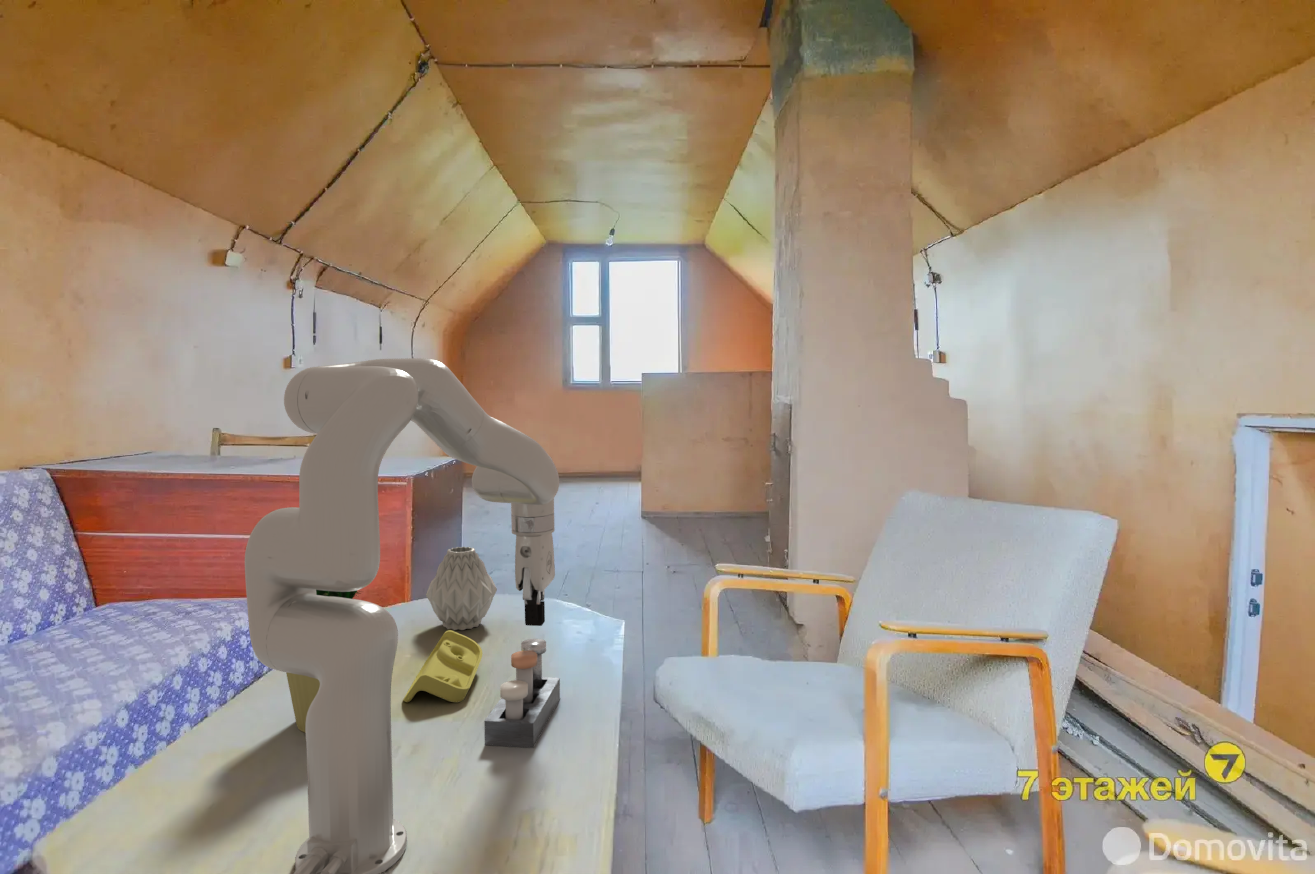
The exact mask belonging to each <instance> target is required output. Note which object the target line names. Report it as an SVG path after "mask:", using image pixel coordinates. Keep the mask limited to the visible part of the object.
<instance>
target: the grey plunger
mask: <svg viewBox="0 0 1315 874" xmlns="http://www.w3.org/2000/svg"><path fill="white" fill-rule="evenodd" d="M520 645H521V646H520V647H521V649H520V651H534V652H536V653H537V665H536V666H534V667H533V688H535V689H542V677H543V668H542V667H543V665H542V663H543V660H542V658H543V657H542V655H543V654H545V653H546V652H547V641H546V640H544V639H541V638H529V639H525V640H523V641H521V643H520Z"/></svg>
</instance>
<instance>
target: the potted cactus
mask: <svg viewBox="0 0 1315 874" xmlns="http://www.w3.org/2000/svg"><path fill="white" fill-rule="evenodd" d="M362 593H363V591H362V590H361V591H360V590H359V591H358V590H355V591H350V592H336V591H323V590H316V595H321V596H328V597H341V598H349V599H354V597H358V595H359V594H360V595H361V594H362ZM285 673H286V679H287V683H288V688H289V693H290V700H291V703H292V709H293V713H294V720H295V723H296V726H297V728H298V730H299V731H301V732H302V733H305V734H306V731H305V727H306V717H307V712H308V710H309V707H310V705H311V703H312V702H313V700H314V698H315V696H316V695H317V693H318V690H319V687H320V681H319V680H318V679H316V678H311V677H308V676H304V675H298V674H293V673H287V672H285Z"/></svg>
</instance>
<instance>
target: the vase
mask: <svg viewBox="0 0 1315 874" xmlns="http://www.w3.org/2000/svg"><path fill="white" fill-rule="evenodd" d="M497 590H498V589H497V586H496V584H495V582H494V581H493V578H492V577H491V576H490V574H488V571H487V568H486V565H485V562H484V561H483V560H482V559H481V558H480V555H479V554H478V553H477V552H476V549H475V548H474V547H470V546H467V547H466V546H456V547H451V548H448V549H447V551H446V554H445V555H444V556H443V559H442V561H441V562H440V563H439V564H438V567H437V570H436V574H435V576H434V578H433V579H431V582H430V583H429V585H428V589H427V591H426V594H425V596H426V598H427V599H428V601H429V603H430V605H431V607H432V610H433V612H434V614H435V615H436V617H437V618H438V621H441V622H442V626H443V627H444V628H446V630H452V631H457V630H460V631H464V630H466V629H467V630H472V629H473V628H475V627H476V628H477V627H479V625H480V624H482V620H483V619H484V618H485V617H486V615H487V613H488V612H489V610H490V607H491V605H492V603H493V600H494V598H495V597H494V596H495V595H496V593H497Z"/></svg>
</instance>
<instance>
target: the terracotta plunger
mask: <svg viewBox="0 0 1315 874" xmlns="http://www.w3.org/2000/svg"><path fill="white" fill-rule="evenodd" d="M510 665H511V667H512V668H514V669H515V678H516V680H520V681H524V682H526V683H527V684H528V695H527V696H526V697H525V698H523V703H532V704H533V667H534V666H536V665H537V653H536V652H534V651H521V650H519V651H515V652H514V653H512V654H511V657H510Z"/></svg>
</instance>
